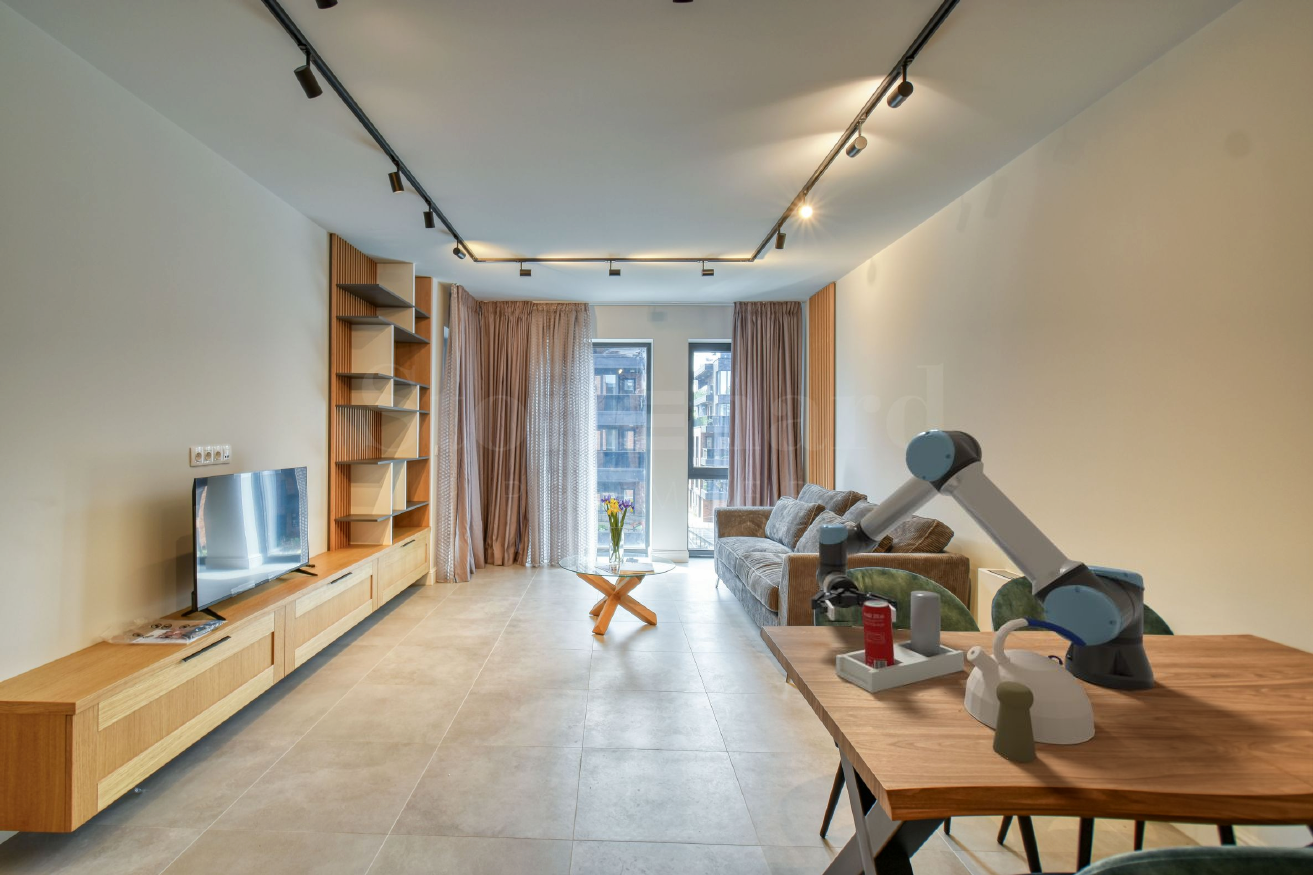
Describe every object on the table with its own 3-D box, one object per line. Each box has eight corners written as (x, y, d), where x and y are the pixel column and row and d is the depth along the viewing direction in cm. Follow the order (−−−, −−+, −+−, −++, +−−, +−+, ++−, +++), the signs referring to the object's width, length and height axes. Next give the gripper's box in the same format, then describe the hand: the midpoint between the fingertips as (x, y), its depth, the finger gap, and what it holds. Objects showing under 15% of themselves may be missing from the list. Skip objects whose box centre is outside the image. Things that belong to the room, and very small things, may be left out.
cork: (984, 742, 98) (985, 677, 98) (1018, 741, 99) (1019, 676, 99) (1009, 763, 92) (1009, 693, 92) (1045, 761, 93) (1046, 692, 93)
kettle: (943, 690, 118) (944, 601, 118) (1050, 693, 117) (1051, 603, 117) (996, 743, 98) (997, 636, 98) (1125, 748, 97) (1126, 639, 97)
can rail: (925, 654, 138) (925, 586, 137) (963, 669, 129) (964, 596, 128) (836, 674, 126) (836, 599, 126) (871, 692, 117) (872, 612, 117)
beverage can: (900, 678, 121) (900, 606, 121) (870, 679, 121) (870, 606, 121) (886, 667, 127) (886, 598, 127) (857, 668, 127) (857, 598, 127)
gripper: (889, 605, 153) (920, 633, 132) (792, 603, 155) (807, 629, 134) (890, 576, 153) (920, 599, 132) (792, 574, 155) (807, 597, 134)
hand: (863, 615), depth 133 cm, fingers open, 13 cm apart
